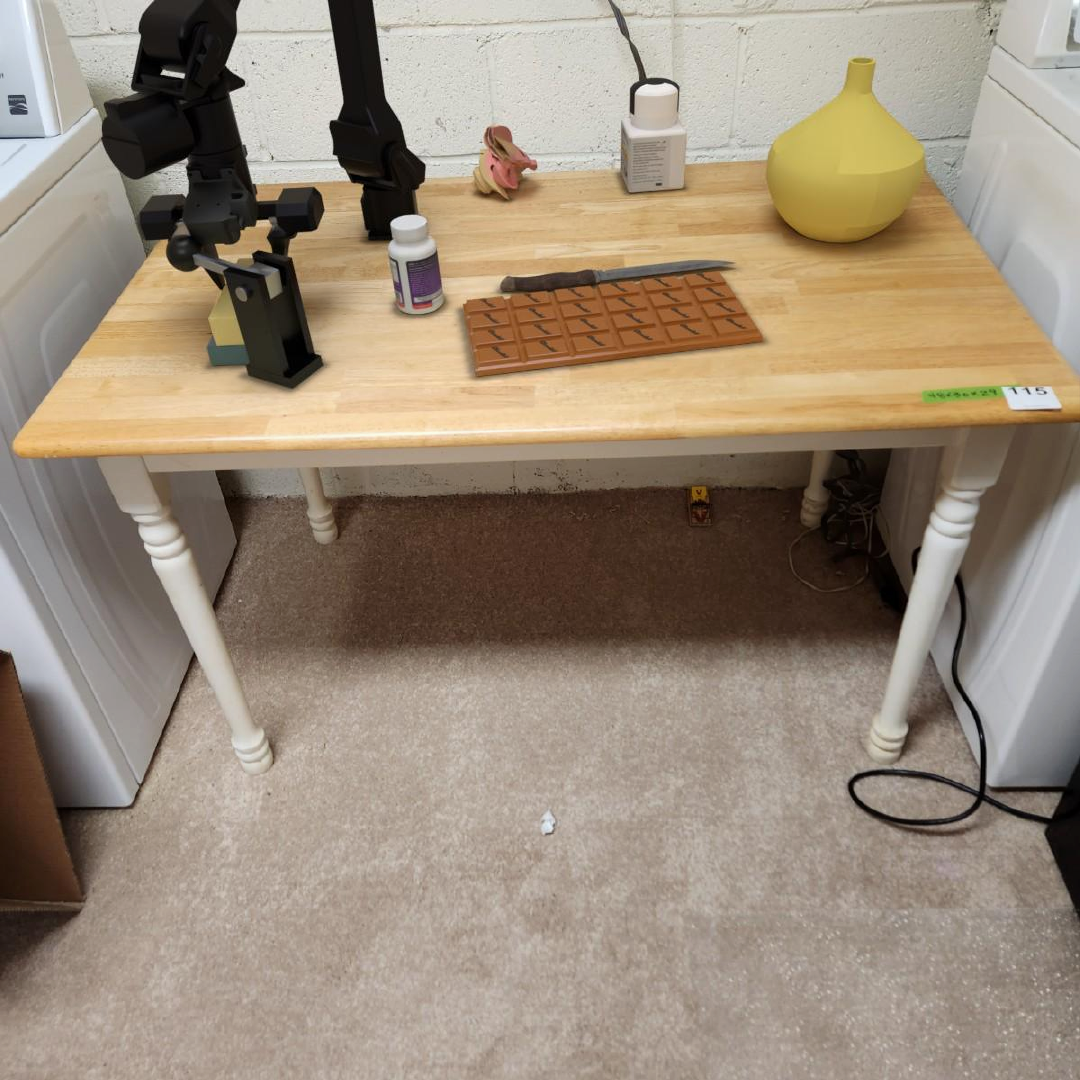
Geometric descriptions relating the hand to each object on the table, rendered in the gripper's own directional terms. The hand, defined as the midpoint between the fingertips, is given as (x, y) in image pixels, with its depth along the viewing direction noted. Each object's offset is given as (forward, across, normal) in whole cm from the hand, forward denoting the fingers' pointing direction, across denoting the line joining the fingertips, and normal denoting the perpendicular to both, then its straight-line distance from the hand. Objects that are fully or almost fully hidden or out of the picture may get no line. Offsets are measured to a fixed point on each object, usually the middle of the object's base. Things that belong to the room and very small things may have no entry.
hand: (252, 287), depth 104 cm
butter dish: (+3, 0, -4) cm, 5 cm away
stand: (+3, +6, -13) cm, 15 cm away
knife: (+3, +42, +4) cm, 42 cm away
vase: (+3, +70, +15) cm, 71 cm away
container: (+3, +49, +33) cm, 59 cm away
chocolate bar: (+3, +40, -7) cm, 40 cm away
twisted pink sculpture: (+3, +29, +33) cm, 44 cm away
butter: (+1, 0, -4) cm, 5 cm away
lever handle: (-6, +1, -11) cm, 12 cm away
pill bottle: (+3, +19, 0) cm, 19 cm away
